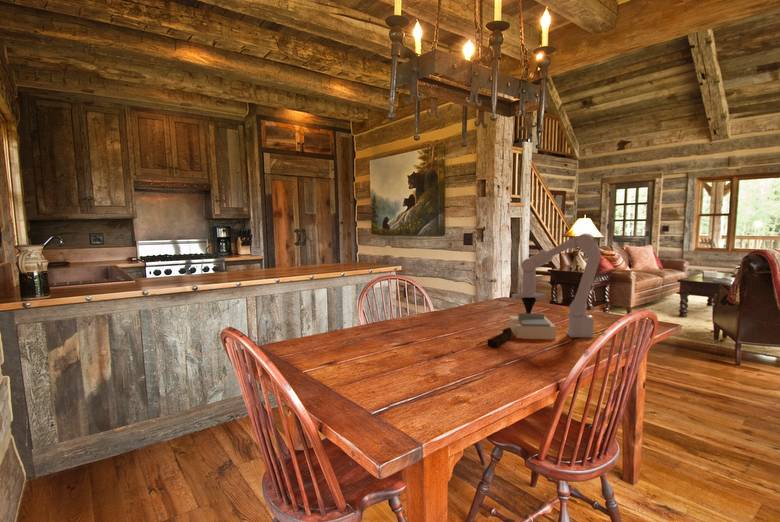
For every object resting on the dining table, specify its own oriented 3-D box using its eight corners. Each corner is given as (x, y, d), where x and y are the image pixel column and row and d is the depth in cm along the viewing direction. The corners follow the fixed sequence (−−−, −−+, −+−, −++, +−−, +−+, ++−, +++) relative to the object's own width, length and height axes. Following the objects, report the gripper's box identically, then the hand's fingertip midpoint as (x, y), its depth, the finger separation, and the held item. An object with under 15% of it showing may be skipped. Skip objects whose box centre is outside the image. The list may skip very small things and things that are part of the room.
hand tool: (496, 349, 157) (496, 338, 156) (486, 347, 160) (487, 336, 159) (517, 338, 171) (517, 328, 170) (508, 337, 174) (508, 326, 173)
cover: (543, 319, 178) (543, 313, 178) (550, 326, 167) (550, 319, 167) (518, 319, 180) (518, 313, 179) (523, 325, 169) (523, 319, 168)
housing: (544, 327, 186) (545, 316, 185) (555, 339, 168) (555, 326, 168) (509, 327, 188) (509, 315, 187) (516, 338, 170) (516, 325, 170)
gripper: (515, 286, 178) (515, 315, 180) (548, 285, 178) (547, 315, 179) (511, 283, 185) (510, 312, 187) (542, 283, 185) (541, 312, 186)
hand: (528, 313), depth 184 cm, fingers closed
